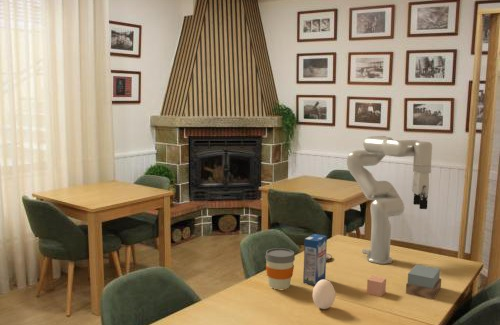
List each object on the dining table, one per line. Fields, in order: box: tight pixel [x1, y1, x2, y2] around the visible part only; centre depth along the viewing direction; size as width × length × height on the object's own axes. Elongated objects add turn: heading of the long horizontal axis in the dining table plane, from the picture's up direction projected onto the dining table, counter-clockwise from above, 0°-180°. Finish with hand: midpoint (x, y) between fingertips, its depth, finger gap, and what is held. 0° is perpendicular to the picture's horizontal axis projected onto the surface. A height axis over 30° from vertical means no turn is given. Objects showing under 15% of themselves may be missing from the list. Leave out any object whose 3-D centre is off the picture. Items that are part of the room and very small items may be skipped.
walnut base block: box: [405, 277, 442, 300], centre depth 208 cm, size 11×15×4 cm
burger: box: [326, 252, 332, 263], centre depth 247 cm, size 12×12×8 cm
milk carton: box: [302, 233, 328, 286], centre depth 215 cm, size 10×6×20 cm, turn 148°
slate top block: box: [407, 264, 441, 289], centre depth 207 cm, size 10×14×4 cm
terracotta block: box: [366, 275, 387, 297], centre depth 205 cm, size 6×6×6 cm
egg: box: [312, 278, 336, 310], centre depth 188 cm, size 9×9×11 cm
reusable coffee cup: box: [265, 247, 296, 290], centre depth 209 cm, size 13×13×15 cm
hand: (420, 206), depth 221 cm, fingers open, 9 cm apart
